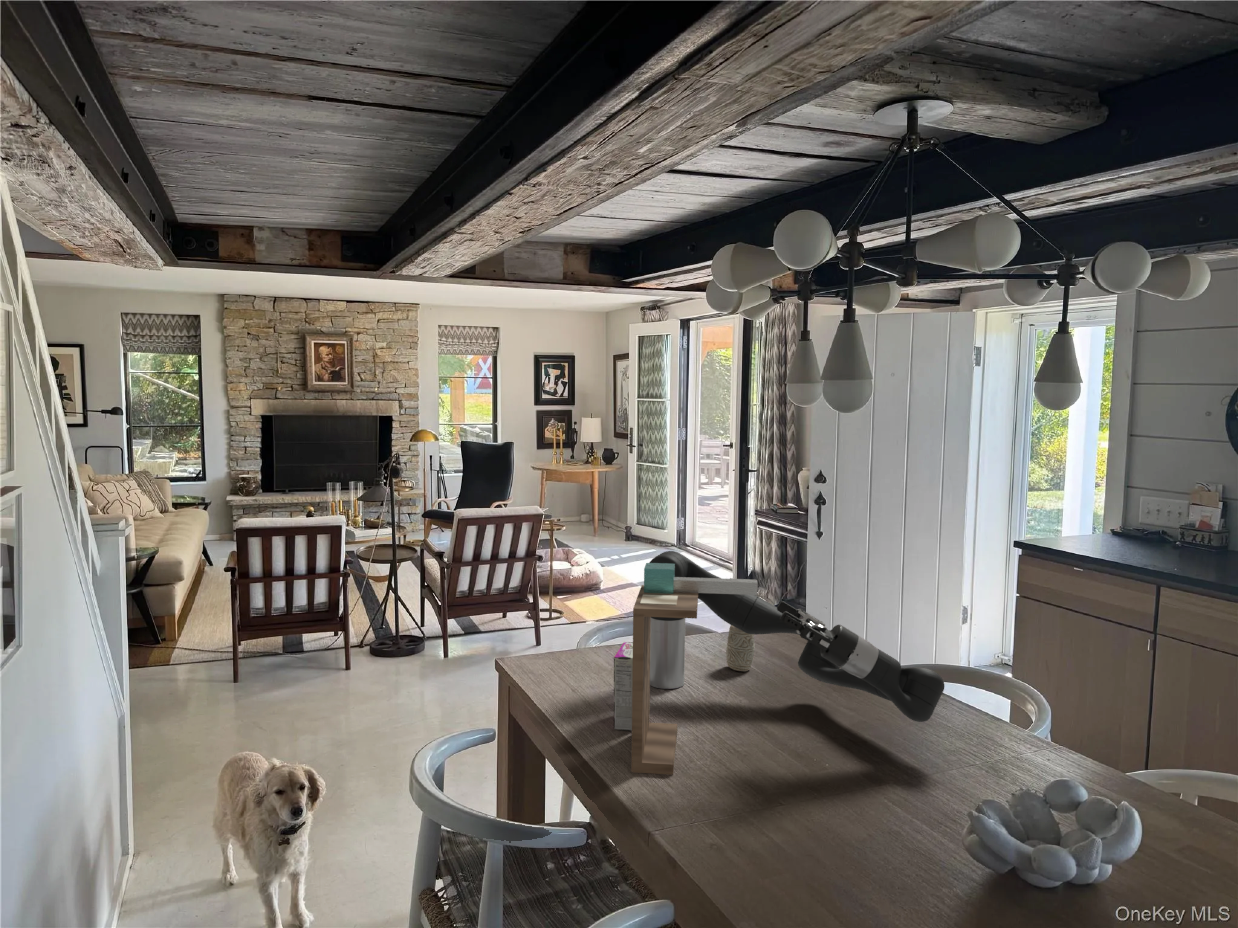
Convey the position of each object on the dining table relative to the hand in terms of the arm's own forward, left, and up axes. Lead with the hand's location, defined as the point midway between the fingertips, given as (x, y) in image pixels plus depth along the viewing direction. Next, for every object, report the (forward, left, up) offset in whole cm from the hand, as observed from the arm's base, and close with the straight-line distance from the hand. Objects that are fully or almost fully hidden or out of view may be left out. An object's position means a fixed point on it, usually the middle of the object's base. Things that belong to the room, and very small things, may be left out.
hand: (780, 609), depth 169 cm
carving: (-49, -6, -29) cm, 57 cm away
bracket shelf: (+6, -23, -29) cm, 37 cm away
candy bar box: (-9, -32, -29) cm, 44 cm away
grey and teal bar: (0, -16, +3) cm, 17 cm away
